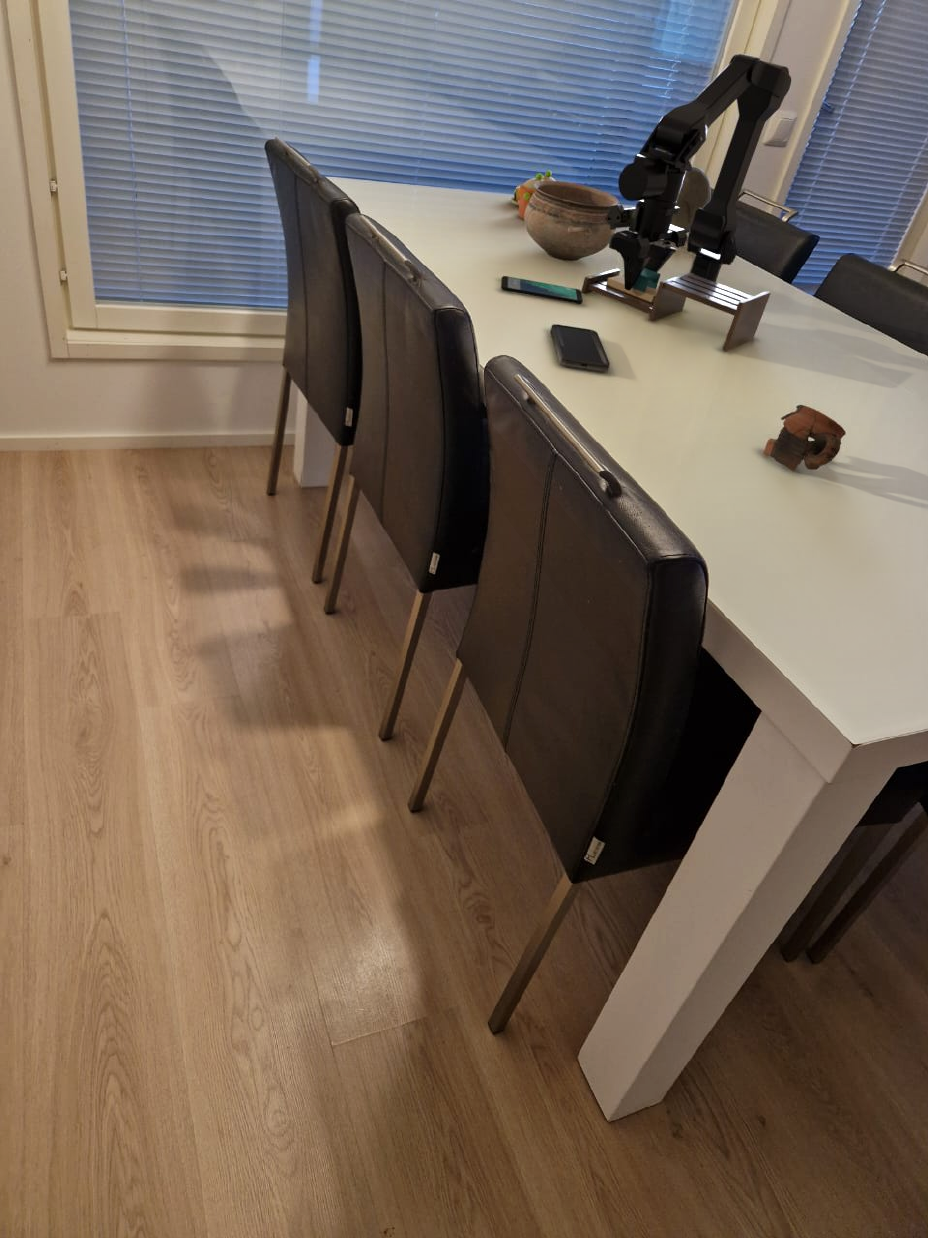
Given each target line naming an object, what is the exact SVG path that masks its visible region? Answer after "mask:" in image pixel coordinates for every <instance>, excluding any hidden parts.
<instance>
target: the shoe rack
mask: <svg viewBox="0 0 928 1238" xmlns="http://www.w3.org/2000/svg"><path fill="white" fill-rule="evenodd" d="M618 275H621V269H619V268H615V269H614V268H613V269H611V270H607V271H604V272H600V273H599V272H598V273H595V274H591V275H588V276H585V277H584V278H583V283H582V286H581V290H580V291H581V295H588V294H590V293H596V294H598V295H600V296H603V297H606V298H608V299H611V300H613V301H615V302H618V303H621V304H623V305H625V306H628V307H631V308H634V309H636V310H638V311H641V312H643V313H646V314H648V315H649V318H648V322H651V323H654V322H656V321H659V320H661V319H662V320H663V319H664V318H667V317H670V316H673V315H676V314H679V313H682V312H683V310H684V307H685V303H686V301H687V299H690V300H692V301H695V302H697V303H700V304H703V305H705V306H708V307H711V308H713V309H715V310H719V311H721V312H723V313H727V314H729V315H731V316H733V318H732V320H731V324H730V326H729V329H728V331H727V334H726V337H725V341H724V343H723V346H722V348H721V351H723V352H725V353H726V352H729V351H731V350H733V349H735V348H738V347H740V346H741V345H744V344H746V343H748V342H750V341H752V340H754V339H755V335H756V333H757V330H758V328H759V325H760V323H761V320H762V317H763V315H764V311H765V309H766V306H767V304H768V302H769V299H770V297H771V291H763V292H761V293H759V294H756V295H754V296H753V295H751V294H748V293H745V292H742V291H740V290H737V289H734V288H732V287H729V286H727V285H724V284H720V283H718V282H717V281H716V282H713V281H710V280H708V279H705V278H702V277H699V276H697V275H694V274H693V273H690V272H687V273H685V274H681V275H678V276H675V277H672V278H668V279H665V280H662V281H661V280H660V281H659V283H658V286H657V289H658V291H657V294H656V297H655V301H654V302H649V301H647V300H644V299H642V298H639V297H637V296H634V295H632V294H629V293H626V292H624V291H621V290H619V289H616V288H614V287H611V286H609V285H606V284H607V280H608V278H611V277H615V276H618Z"/></svg>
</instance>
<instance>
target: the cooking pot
mask: <svg viewBox="0 0 928 1238" xmlns="http://www.w3.org/2000/svg"><path fill="white" fill-rule="evenodd" d="M534 187H535V189H536V190H535V192H534V193H533V195H532V196H531V198H530V200H529V202H528V204H527V207H526V209H525V214H524V219H523V220H524V226H525V229H526V232H527V233H528V235H529V237H530V238H531V239H532V240H533V241H534V242H535V243H536V244H537V246H539V247H540V248H541V249H542V250H543V251H544V252H545V253H546V254H547V255H548V256H549V257H551V258H554V259H557V260H560V261H566V262H576V261H579V260H581V259H584V258H587V257H590V256H593V255H595V254H597V253H599V252H601V251H604V250H605V249H606V248H607V247H609V243H610V239H611V236H612V235H613V234H615V233H616V232H617V228H616V229H614V230H610V225H609V224H608V223H607V221H606V220H605V218H606V216H607V212H608V210H609V208H610V206H611V205H620V200H619V199H618V198H617V197H616V196H614V195H613V194H610V193H609V192H606V191H603V190H601V189H598V188H595V187H591V186H588V185H584V184H580V183H575V182H569V181H563V180H555V181H553V180H543V181H537V182H535V183H534Z"/></svg>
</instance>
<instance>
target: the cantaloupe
mask: <svg viewBox="0 0 928 1238" xmlns="http://www.w3.org/2000/svg"><path fill="white" fill-rule="evenodd" d="M711 197H712V188H711V183H710V180H709V177H708V175H707V174H706V172H705V171H704V170H703V169H701V168H700V167H697V166H695V165H692V170H691V171H686V172H685V176H684V179H683V183H682V186H681V190H680V193H679V196H678V200H677V203H676V206H677V207H680V208H679V212H678V214H673V217H672V221H671V224H670V225H673V226H676V227H679V228H682V229H685V232H686V234H689V230H690V226H691V225H692V222H693V220H694V216H695V212H696V211H697V209H698V208H702V207H704V206H705V205H706V204H707V203H708V202H709V201H710V199H711Z"/></svg>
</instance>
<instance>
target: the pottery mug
mask: <svg viewBox="0 0 928 1238" xmlns="http://www.w3.org/2000/svg"><path fill="white" fill-rule="evenodd" d="M781 420H782V421H783V423H782V424H783V426H782V427H781V429H780V431H779V434H778V437H777V438H769V439H768V440H767V442H766V444H765V447H764V450H763V452H762V453H763V454H764V455H767V456H768V457H770V458H773V459H774V460H775V461H776V462H777V463H779V464H781V465H782V466H784V467H785V468H787V469H789V470H790V471H793V472H795V471H796V469H797V468H798V467H799V465H800V464H802V462H803V464H804V467H805V468H806V469H807V470H809V471H810V470H812V471H814V470H815V471H816V470H818V469H819V468H820V467H823V466H824V465H826V464H829V463H830V462H832V461H833V460H834V459H835V458H836V457H837V455H838V454H839V452H840V451H841V445H842V439H843V437H845V436H846V434H847V432H846V430H845V429H844V428H843V427H842V425H841V424H839V423H838V422H837V421H835V420H834V419H833V418H831V417H829V416H828V415H826V414H825V413H824V412H823V413H822V412H821V411H820V410H816V409H815V408H813V407H809V406H807V405H804V404H798V405H796V406H795V411H792V412H789V413H787V414H785V415H783V416H782V417H781V418H780V421H781ZM809 438H810V439H812V440H809Z"/></svg>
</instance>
